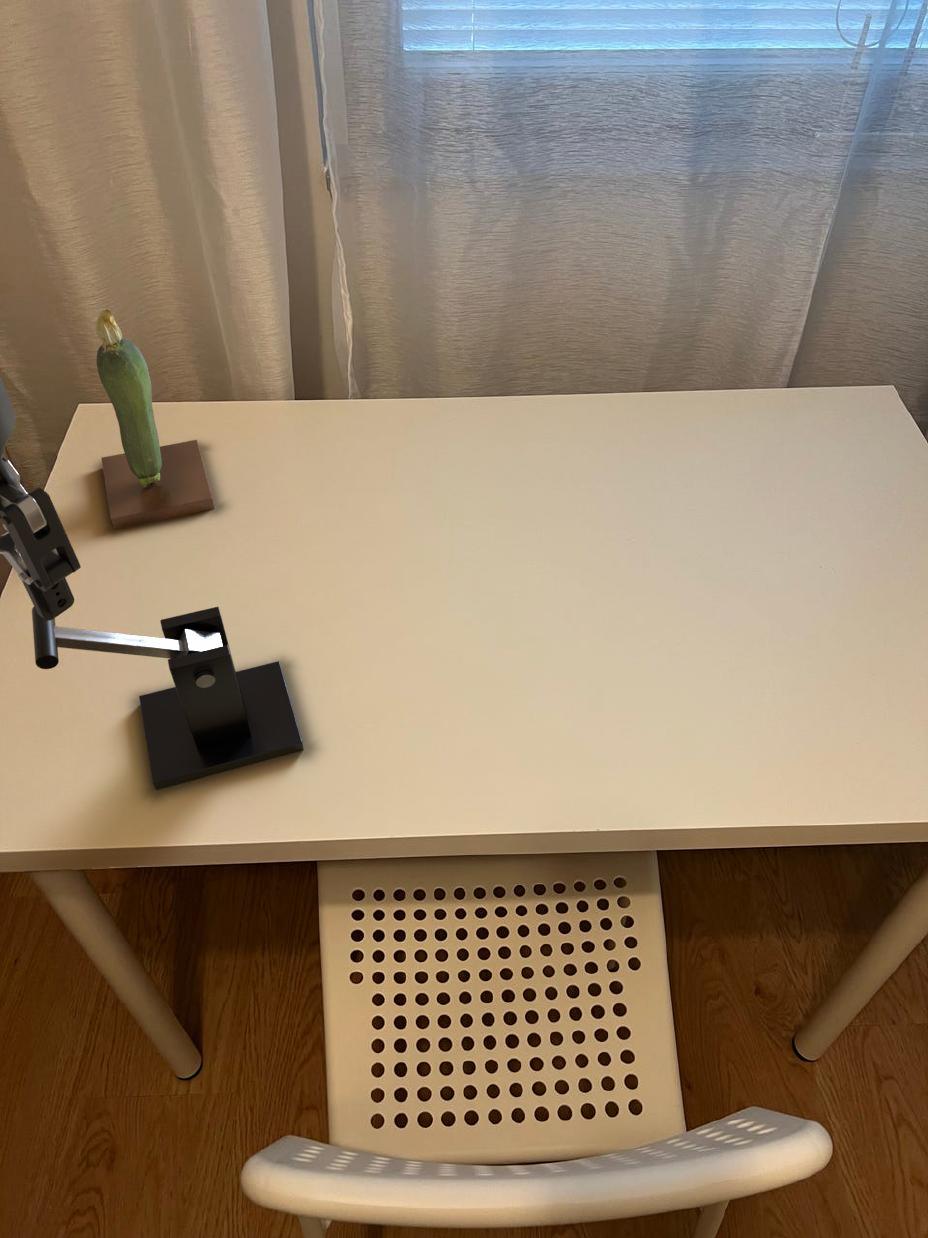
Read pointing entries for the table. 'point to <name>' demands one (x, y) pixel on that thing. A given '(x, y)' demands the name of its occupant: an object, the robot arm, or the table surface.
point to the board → (158, 487)
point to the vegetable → (129, 398)
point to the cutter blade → (112, 642)
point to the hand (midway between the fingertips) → (17, 579)
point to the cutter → (215, 711)
